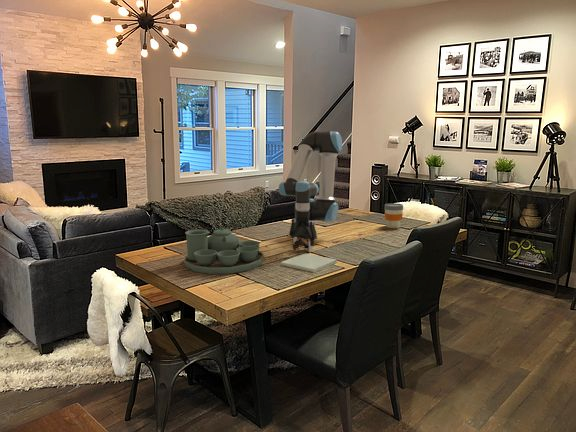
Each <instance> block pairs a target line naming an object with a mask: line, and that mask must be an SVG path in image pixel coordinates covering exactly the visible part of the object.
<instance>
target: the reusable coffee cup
mask: <svg viewBox="0 0 576 432" xmlns="http://www.w3.org/2000/svg"><path fill="white" fill-rule="evenodd" d="M383 209H384V220H385V224H386V228H389V229H398V228H400V227H401V222H402V220H403V211H404V205H403V204H402V203H397V202H396V203H392V202H391V203H385V204H384V208H383Z"/></svg>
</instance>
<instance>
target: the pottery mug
mask: <svg viewBox="0 0 576 432" xmlns="http://www.w3.org/2000/svg"><path fill="white" fill-rule="evenodd" d="M309 240H310V239H309V238H298V239H297V241H296V242H294V243H295V245H294V243H292V250H294V251H296V250H300V247H304V249H307V252H308V253H307V254H311V252H309Z"/></svg>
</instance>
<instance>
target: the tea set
mask: <svg viewBox="0 0 576 432" xmlns="http://www.w3.org/2000/svg"><path fill="white" fill-rule="evenodd" d="M184 233H185V235H186V252H187V254H186V255H185V256H184V264H183V265H184V266H185V268H187V269H188V270H190V269H191V271H193V272H194V273H203V274H207V275H208V274H209V275H223V274H224V275H225V274H227V275H231V274H237V273H241V272H242V273H243V272H248V271H251V270H253V269H255V268H257V267H259V266H261V265H262V263H263V261H264V259H265V254H264V253H263V252H262V251H260V249H259V248H260V245H261V242H259V241H257V240H243V241H239V237H238V236H237V235H236V234H234V233H232V231H231V230H230V229H229V228H228V229H226V228H224V227H221V228H220V229H219V228H218V229H216V230H213V232H212V234H211V235H210V233H211V232H210V231H208V230H206V229H191V230H187V231H185V232H184Z"/></svg>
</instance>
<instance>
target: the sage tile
mask: <svg viewBox="0 0 576 432" xmlns="http://www.w3.org/2000/svg"><path fill="white" fill-rule="evenodd" d="M336 263H338V260H337V259H336V258H331V257H324V256H320V255H316V254H311V253H302V254H299V255H296V256H294V257H291V258H289V259H286V260H284V261H280V265H281V266H284V267H289V268H293V269H298V270H302V271H306V272H311V273H316V272H318V271H321V270H323V269H325V268H328V267H329V266H332V265H334V264H336Z"/></svg>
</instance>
